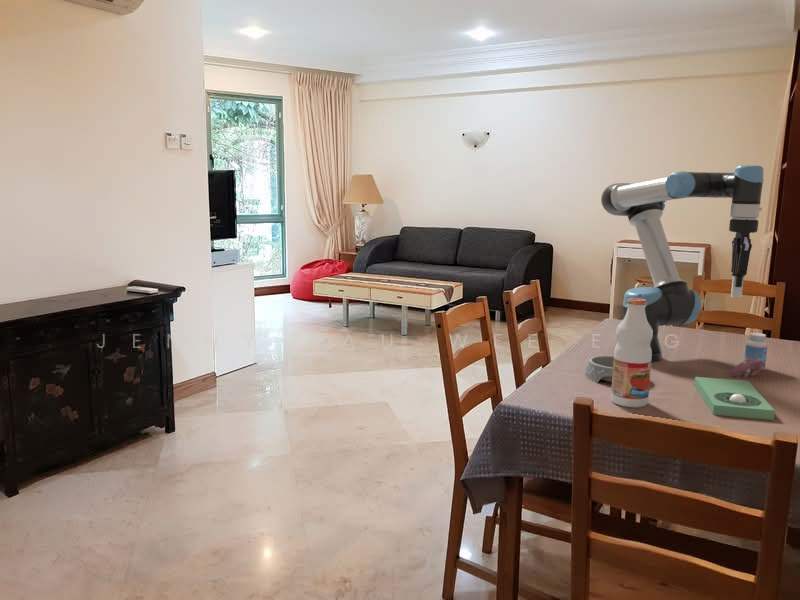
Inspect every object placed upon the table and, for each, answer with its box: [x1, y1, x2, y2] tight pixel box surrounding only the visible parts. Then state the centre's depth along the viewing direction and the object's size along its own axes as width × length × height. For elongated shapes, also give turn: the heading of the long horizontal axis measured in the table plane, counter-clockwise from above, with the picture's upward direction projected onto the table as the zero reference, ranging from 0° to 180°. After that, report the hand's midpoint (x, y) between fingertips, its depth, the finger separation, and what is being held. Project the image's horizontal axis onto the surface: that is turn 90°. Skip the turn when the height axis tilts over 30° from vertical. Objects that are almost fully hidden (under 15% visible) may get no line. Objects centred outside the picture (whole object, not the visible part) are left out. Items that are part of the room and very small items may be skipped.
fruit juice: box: [610, 298, 653, 408], centre depth 173 cm, size 9×9×28 cm
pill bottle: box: [743, 332, 768, 371], centre depth 210 cm, size 6×6×11 cm
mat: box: [693, 376, 776, 421], centre depth 178 cm, size 26×14×2 cm, turn 166°
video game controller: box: [728, 359, 766, 378], centre depth 201 cm, size 10×5×7 cm, turn 115°
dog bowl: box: [584, 355, 614, 384], centre depth 198 cm, size 17×18×5 cm
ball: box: [729, 394, 746, 403], centre depth 171 cm, size 4×4×4 cm
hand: (736, 297), depth 198 cm, fingers closed
